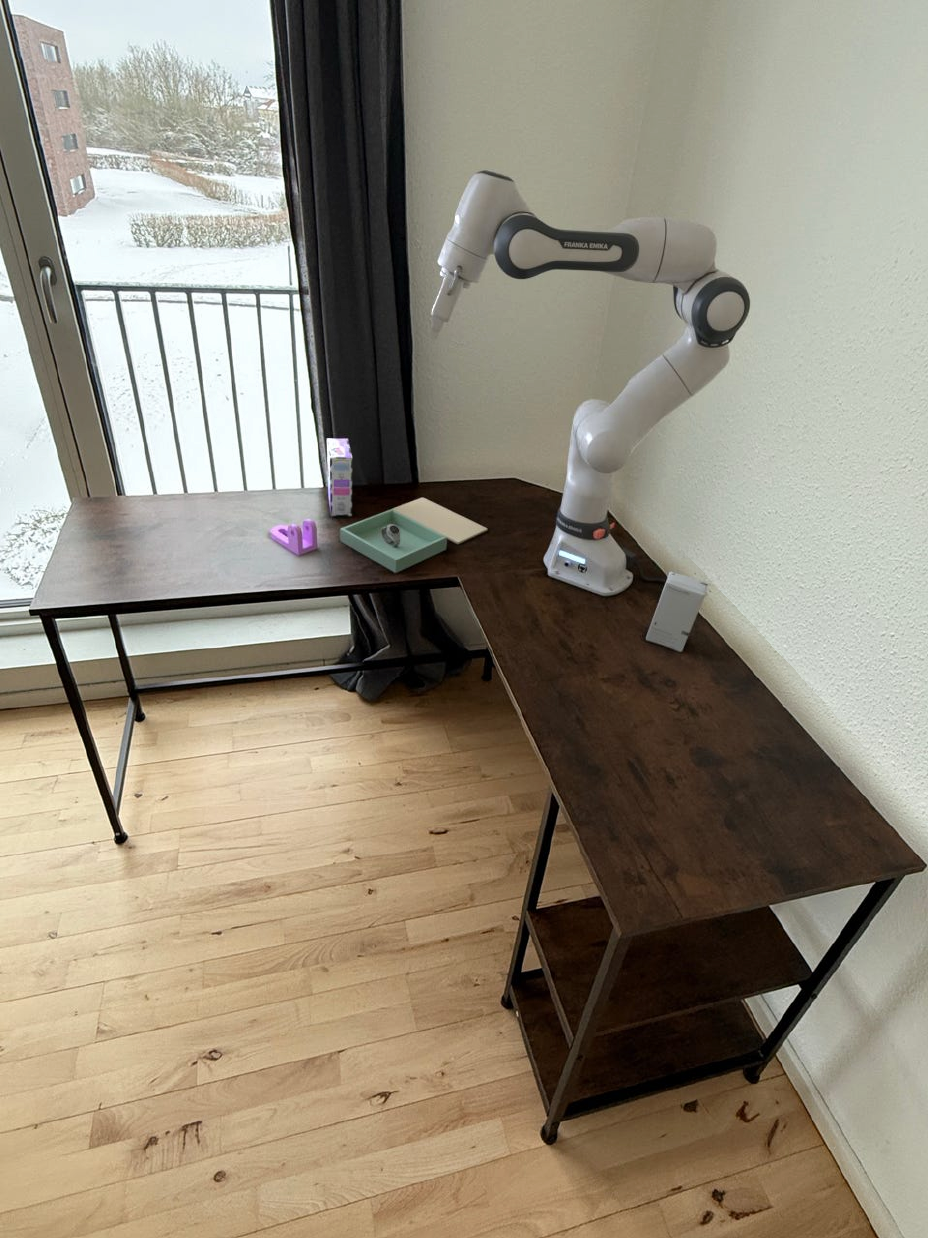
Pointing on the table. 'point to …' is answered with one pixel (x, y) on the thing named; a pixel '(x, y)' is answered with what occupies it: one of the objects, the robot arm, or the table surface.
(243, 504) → the table surface
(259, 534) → the table surface
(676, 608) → the cosmetic box
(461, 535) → the mat
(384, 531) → the wristwatch
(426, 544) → the tray
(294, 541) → the bracket
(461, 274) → the robot arm
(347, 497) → the candy box
